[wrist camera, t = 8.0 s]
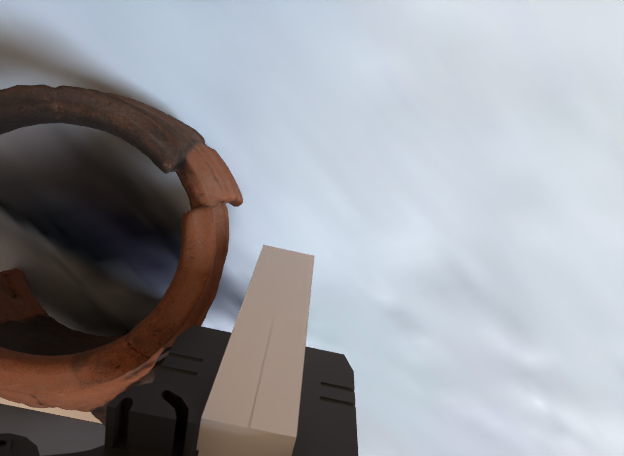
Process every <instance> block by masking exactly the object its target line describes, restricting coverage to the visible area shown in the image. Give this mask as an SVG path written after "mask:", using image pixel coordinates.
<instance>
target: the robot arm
mask: <svg viewBox="0 0 624 456" xmlns="http://www.w3.org/2000/svg"><path fill="white" fill-rule="evenodd" d="M313 265H314V256H313V255H308V254H303V253H299V252H294V251H289V250H285V249H280V248H275V247H271V246H266V245H263V248H262V251H261V253H260V256H259V259H258V262H257V264H256V267H255V270H254V273H253V276H252V278H251V281H250V284H249V287H248V289H247V292H246V295H245V298H244V301H243V303H242V306H241V309H240V312H239V314H238V317H237V320H236V323H235V326H234V328H233V331H232V333H230V332H225V331H220V330H215V329H211V328H206V327H201V326H196V325H193V326H191V327H190V328H188V329H187V330H186V331H184V332H183V333H181V334H180V335H179V336H177V338H176V340H175V342H174V343H173V345H172V347H171V349H170V351H169V353H168V356H166V358H165V360H164V362H163V364H162V365H161V369H159V371H158V373H157V375H156V377H155V378H154V380H153V382H152V383H147V384H142V385H138V386H133V387H131V388H129V389H127V390H125V391H123V392H121V393H119V394H118V395H117V396H116V397H115V398H114V399H113V400H112V401H111V402H110V403H109V404H108V405H107V409H106V427H105V444H104V445H102V446H99V447H97V448H94V449H91V450H87V451H82V452H76V453H66V454H55V455H44V456H358V442H357V425H356V407H355V392H354V371H353V370H352V368H351V366H350V364H349V363H348V361H347V359H346V357H345V356H344V355H343V354H339V353H334V352H329V351H324V350H319V349H315V348H310V347H305V345H306V335H307V325H308V315H309V305H310V295H311V285H312V275H313ZM0 456H40V454H39V450H38V447H37V445H35V444H34V443H33V442H32V441H30V440H29V439H28V438H27V437H24V436H20V435H16V434H11V433H2V434H0Z"/></svg>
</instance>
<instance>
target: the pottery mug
mask: <svg viewBox="0 0 624 456" xmlns="http://www.w3.org/2000/svg"><path fill="white" fill-rule="evenodd" d="M45 123H67V124H74V125H80V126H87V127H91V128H95V129H99V130H103V131H106V132H109V133H111V134H113V135H115V136H118V137H120V138H122V139H124V140H125V141H127V142H129V143H130V144H131V145H133V146H135V147H136V148H138V149H139V150H140V151H142V152H143V153H144V154H145V155H147V156H148V157H149V158H150V159H151V160H152V162H153V163H154V164H155V165H156V166H157V167H158V168H159V169H160V170H162V171H163V172H164V173H166V174H167V173H169V172H172V171H175V172H176V173H177V175H178V177H179V179H180V181H181V183H182V185H183V187H184V188H185V190H186V192H187V195H188V197H189V201H190V206H191V210H189V211H187V212H185V213H184V214H183V215H182V219H181V220H182V244H181V252H180V258H179V263H178V266H177V270H176V273H175V275H174V278H173V280H172V282H171V284H170V286H169V288H168V289H167V291H166V293H165V295H164V296H163V298H162V299H161V301H160V302H159V303H158V305H157V306H156V307H155V308H154V310H153V311H152V312H151V313H150V314H149V315H148V316H147V317H146V318H145V319H144V320H142V321H141V322H140V323H139V324H137V325H136V326H135V327H134V328H133V329H132V330H131V332H129V333H128V334H126V335H123V336H110V337H107V336H96V335H91V334H87V333H84V332H80V331H76V330H73V329H70V328H68V327H66V326H64V325H62V324H60V323H59V322H57V321H56V320H55V319H53V318H52V317H50V316H49V315H48V314H47V312H46V311H45V310H44V309H43V308H42V307H41V305H40V304H39V303H38V301H37V299H36V298H35V296H34V295H33V293H32V292H31V290H30V289H29V286H28V284H27V282H26V280H25V277H24V274H23V272H22V271H21V270H20V269H12V270H8V271H2V272H0V397H2V398H4V399H7V400H9V401H13V402H17V403H23V404H25V405H27V406H30V407H36V408H48V407H52V408H54V407H59V408H62V409H65V410H79V411H83V412H91V413H92V414H93V415H94V416H95V417H96V418H97V419H99V420H100V421H101V422H102V423H103V425H104V426H105V427H106V409H107V405H108V404H109V403H110V402H111V401H112V400H113V399H114V398H115V397H116V396H117V395H118V394H119V393H121V392H123V391H125V390H127V389H129V388H131V387H133V386H138V385H142V384H147V383H152V382H153V380H154V378H155V377H156V375H157V373H158V371H159V369H161V365H162V364H163V362H164V360H165V358H166V356H168V353H169V351H170V349H171V347H172V345H173V343H174V342H175V340H176V338H177V336H179V335H180V334H181V333H183V332H184V331H186V330H187V329H188V328H190V327H191V326H193V325H196V326H201V325H202V323H203V321H204V319H205V318H206V314H207V312H208V310H209V308H210V306H211V305H212V302H213V300H214V298H215V296H216V293H217V290H218V286H219V282H220V279H221V275H222V271H223V266H224V263H225V260H226V256H227V252H228V243H229V218H228V210H227V207H226V204H225V203H230V204H231V205H233V206H235V207H237V206H240V205H241V204H242V203H243V198H242V195H241V192H240V190H239V188H238V185H237V183H236V181H235V179H234V177H233V175H232V174H231V172H230V170H229V168H228V167H227V165H226V164H225V162H224V161H223V160H222V158H221V157H220V155H219V154H218V153H217V152H216V151H215V150H214V149H212V148H210V147H208V146H206V145H205V140H204V138H203V137H202V136H201V135H200V134H199V133H198V132H197V131H196V130H195V129H193V128H191V127H190V126H188V125H186V124H184V123H183V122H181V121H179V120H177V119H175V118H174V117H172V116H170V115H167V114H165V113H163V112H161V111H159V110H157V109H155V108H153V107H151V106H148V105H146V104H143V103H141V102H138V101H135V100H132V99H130V98H126V97H123V96H119V95H115V94H111V93H103V92H99V91H97V90H92V89H85V88H80V87H72V86H59V87H56V88H53V87H50V86H47V85H16V86H13V87H10V88H7V89H3V90H0V135H1V134H3V133H6V132H9V131H12V130H15V129H18V128H22V127H26V126H32V125H36V124H45Z"/></svg>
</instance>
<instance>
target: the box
mask: <svg viewBox="0 0 624 456" xmlns="http://www.w3.org/2000/svg"><path fill="white" fill-rule="evenodd" d="M2 433H11V434H16V435H20V436H24V437H27V438H28V439H29V440H30V441H32V442H33V443H34V444H35V445H37V447H38V450H39V454H40V456H44V455H55V454H66V453H76V452H82V451H87V450H91V449H94V448H97V447H99V446H102V445H104V444H105V426H104V425H103V424H100V423H95V422H90V421H85V420H80V419H75V418H70V417H64V416H60V415H55V414H50V413H45V412H40V411H35V410H29V409H24V408H19V407H14V406H9V405H4V404H0V434H2Z"/></svg>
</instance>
